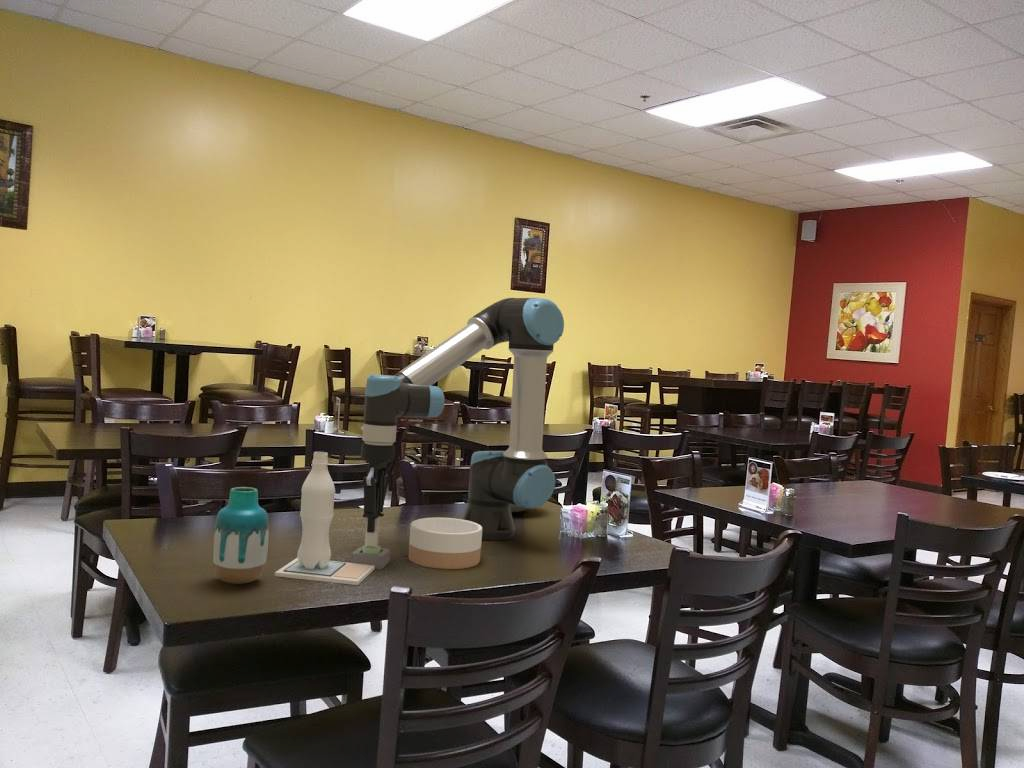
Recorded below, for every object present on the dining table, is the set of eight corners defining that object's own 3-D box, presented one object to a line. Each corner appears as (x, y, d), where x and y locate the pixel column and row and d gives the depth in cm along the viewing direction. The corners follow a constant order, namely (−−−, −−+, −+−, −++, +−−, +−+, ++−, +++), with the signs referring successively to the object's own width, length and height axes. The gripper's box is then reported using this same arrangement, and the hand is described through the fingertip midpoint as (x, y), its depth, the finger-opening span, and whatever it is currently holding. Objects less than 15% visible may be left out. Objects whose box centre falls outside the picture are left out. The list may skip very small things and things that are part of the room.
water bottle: (334, 563, 185) (341, 452, 184) (324, 572, 178) (331, 456, 177) (303, 560, 186) (310, 449, 184) (291, 569, 178) (298, 453, 177)
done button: (381, 560, 192) (382, 545, 192) (376, 564, 188) (377, 549, 188) (364, 558, 193) (365, 543, 193) (359, 562, 189) (360, 547, 189)
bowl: (451, 574, 188) (454, 537, 188) (393, 558, 197) (395, 523, 197) (493, 560, 203) (496, 526, 202) (437, 546, 212) (439, 514, 211)
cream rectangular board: (374, 569, 187) (375, 564, 187) (357, 585, 174) (357, 580, 174) (297, 560, 189) (297, 556, 189) (274, 576, 176) (275, 571, 176)
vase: (218, 573, 175) (224, 483, 174) (270, 576, 176) (275, 486, 175) (204, 588, 164) (210, 492, 163) (259, 591, 165) (265, 495, 164)
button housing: (389, 561, 194) (390, 549, 193) (381, 569, 187) (382, 556, 186) (360, 558, 194) (360, 546, 194) (351, 566, 187) (351, 553, 187)
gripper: (370, 438, 196) (363, 537, 197) (353, 444, 183) (346, 550, 184) (401, 441, 195) (394, 540, 196) (387, 447, 182) (379, 554, 183)
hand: (371, 545), depth 190 cm, fingers closed
